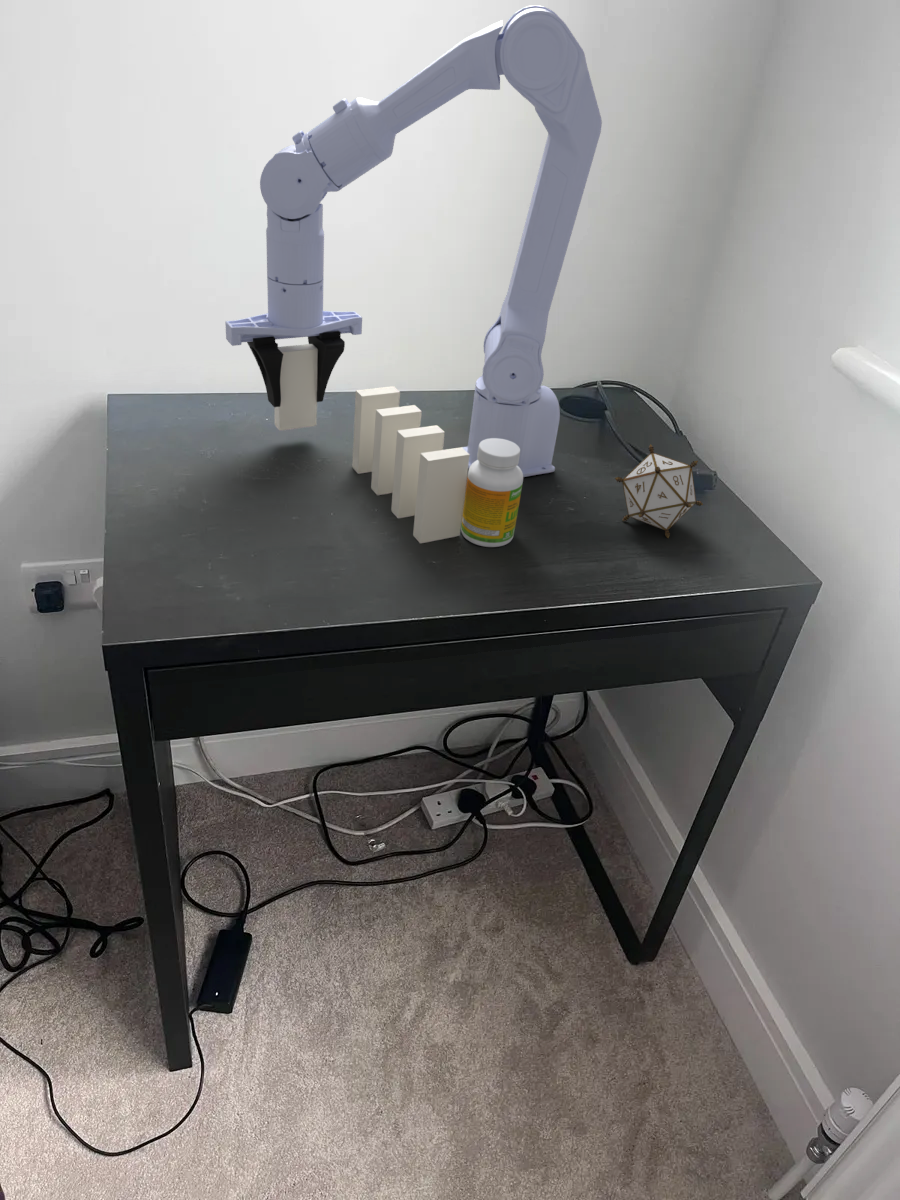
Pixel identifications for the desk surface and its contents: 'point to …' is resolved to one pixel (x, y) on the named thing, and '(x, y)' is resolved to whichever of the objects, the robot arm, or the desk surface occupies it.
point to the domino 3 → (389, 443)
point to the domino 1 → (298, 388)
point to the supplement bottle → (492, 494)
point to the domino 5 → (440, 494)
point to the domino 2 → (369, 423)
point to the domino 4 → (411, 465)
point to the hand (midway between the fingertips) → (295, 400)
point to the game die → (659, 491)
